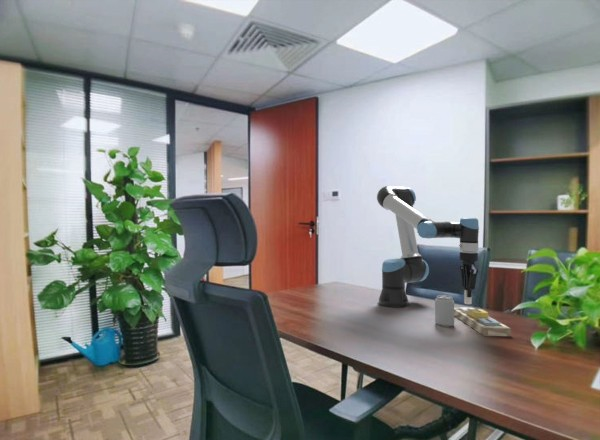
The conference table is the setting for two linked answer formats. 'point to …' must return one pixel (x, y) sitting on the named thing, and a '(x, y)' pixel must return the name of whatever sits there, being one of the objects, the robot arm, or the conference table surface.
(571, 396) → the conference table surface
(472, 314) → the tile
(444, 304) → the can
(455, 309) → the frame
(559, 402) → the conference table surface
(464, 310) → the tile
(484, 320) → the tile
